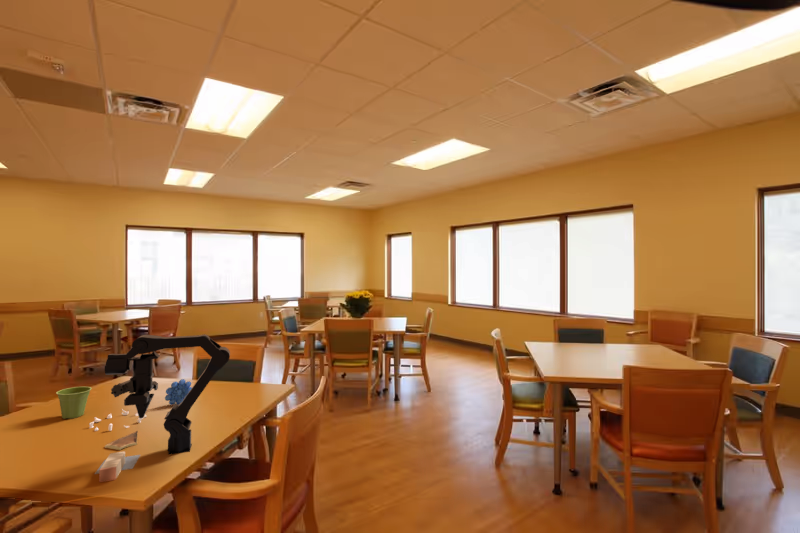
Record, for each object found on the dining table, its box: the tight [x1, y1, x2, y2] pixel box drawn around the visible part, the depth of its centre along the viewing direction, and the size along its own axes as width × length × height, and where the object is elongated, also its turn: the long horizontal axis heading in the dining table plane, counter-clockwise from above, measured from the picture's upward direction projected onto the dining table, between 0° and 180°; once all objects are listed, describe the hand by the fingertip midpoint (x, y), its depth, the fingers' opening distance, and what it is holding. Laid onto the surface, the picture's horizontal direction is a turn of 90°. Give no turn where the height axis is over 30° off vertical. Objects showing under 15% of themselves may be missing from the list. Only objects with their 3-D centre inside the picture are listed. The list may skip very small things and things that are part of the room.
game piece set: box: [88, 408, 148, 432], centre depth 160 cm, size 19×20×4 cm
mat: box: [94, 454, 141, 475], centre depth 124 cm, size 10×10×1 cm
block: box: [98, 451, 126, 483], centre depth 119 cm, size 4×4×10 cm
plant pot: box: [55, 386, 93, 420], centre depth 166 cm, size 12×12×11 cm
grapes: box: [164, 378, 193, 406], centre depth 183 cm, size 12×7×12 cm, turn 115°
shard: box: [104, 430, 138, 451], centre depth 141 cm, size 13×9×2 cm
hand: (141, 417), depth 131 cm, fingers closed
